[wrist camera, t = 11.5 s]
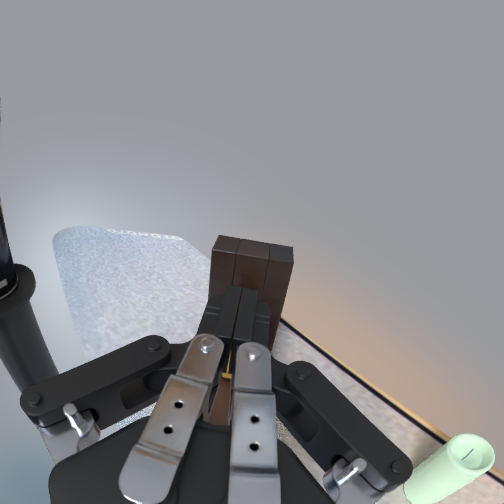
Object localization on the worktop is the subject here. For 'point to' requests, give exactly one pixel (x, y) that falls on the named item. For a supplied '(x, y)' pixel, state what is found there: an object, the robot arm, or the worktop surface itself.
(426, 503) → the candle
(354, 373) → the worktop surface
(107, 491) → the robot arm
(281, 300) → the latch
